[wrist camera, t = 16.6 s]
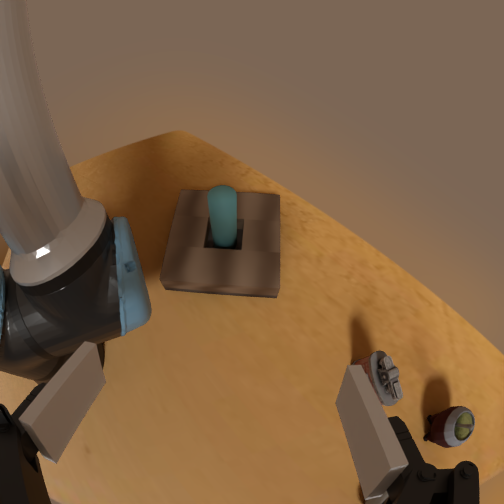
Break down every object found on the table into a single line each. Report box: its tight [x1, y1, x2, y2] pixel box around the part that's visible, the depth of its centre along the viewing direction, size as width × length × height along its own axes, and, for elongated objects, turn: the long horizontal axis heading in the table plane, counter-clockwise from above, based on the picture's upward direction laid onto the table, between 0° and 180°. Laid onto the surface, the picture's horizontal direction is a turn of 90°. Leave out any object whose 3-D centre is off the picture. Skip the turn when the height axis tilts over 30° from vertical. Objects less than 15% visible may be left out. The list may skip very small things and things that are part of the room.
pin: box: [207, 185, 237, 250], centre depth 43 cm, size 4×4×12 cm
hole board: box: [160, 190, 280, 298], centre depth 48 cm, size 18×18×4 cm
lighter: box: [352, 351, 403, 406], centre depth 34 cm, size 8×3×10 cm, turn 14°
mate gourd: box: [423, 406, 475, 448], centre depth 27 cm, size 8×8×15 cm
